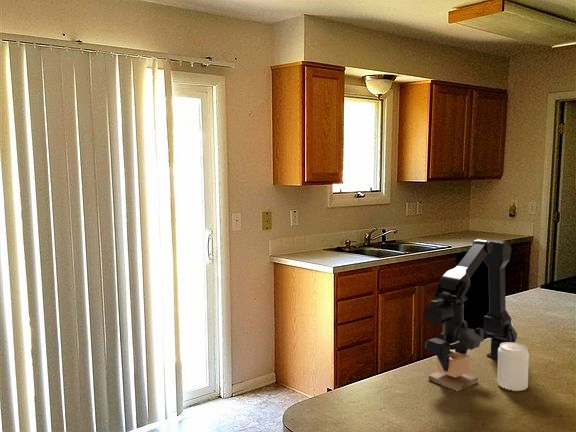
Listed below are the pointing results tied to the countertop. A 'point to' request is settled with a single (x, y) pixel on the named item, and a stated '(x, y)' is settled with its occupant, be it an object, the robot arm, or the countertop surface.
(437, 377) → the post stand
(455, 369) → the collar
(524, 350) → the beverage can
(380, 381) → the countertop surface
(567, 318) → the countertop surface
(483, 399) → the countertop surface
